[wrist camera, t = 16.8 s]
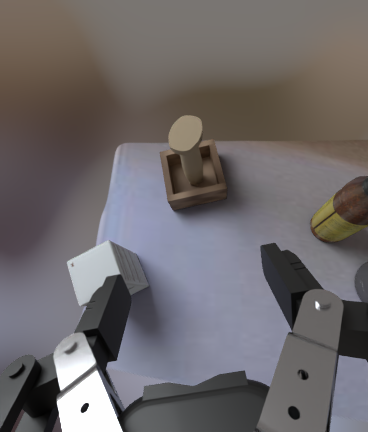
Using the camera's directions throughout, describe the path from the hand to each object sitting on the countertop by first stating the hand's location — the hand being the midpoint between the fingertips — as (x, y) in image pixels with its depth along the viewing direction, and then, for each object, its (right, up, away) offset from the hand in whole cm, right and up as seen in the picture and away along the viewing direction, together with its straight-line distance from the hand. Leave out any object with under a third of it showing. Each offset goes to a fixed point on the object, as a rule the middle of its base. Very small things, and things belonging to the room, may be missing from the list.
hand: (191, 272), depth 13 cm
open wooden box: (+2, +11, +36) cm, 38 cm away
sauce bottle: (+26, +1, +29) cm, 39 cm away
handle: (+2, +11, +35) cm, 37 cm away
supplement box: (-12, -9, +32) cm, 35 cm away
